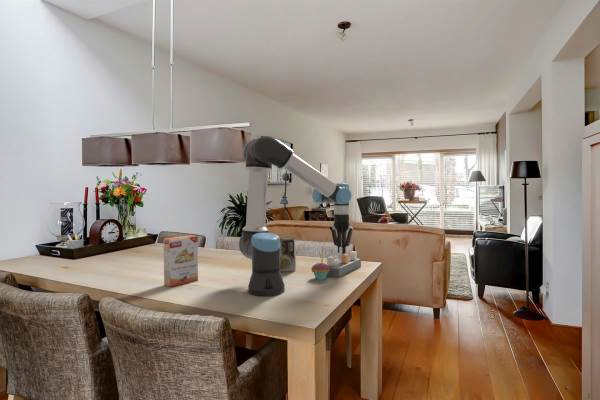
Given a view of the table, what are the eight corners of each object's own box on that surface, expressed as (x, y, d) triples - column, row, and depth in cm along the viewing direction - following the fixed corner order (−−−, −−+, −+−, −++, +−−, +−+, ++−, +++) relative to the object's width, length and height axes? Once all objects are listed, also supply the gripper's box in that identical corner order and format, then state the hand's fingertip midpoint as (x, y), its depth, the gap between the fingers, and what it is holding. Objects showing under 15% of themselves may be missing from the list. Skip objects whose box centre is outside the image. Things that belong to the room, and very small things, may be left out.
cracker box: (170, 287, 150) (169, 239, 149) (163, 285, 154) (162, 238, 153) (199, 280, 161) (198, 235, 160) (191, 278, 165) (190, 234, 164)
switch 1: (331, 266, 169) (331, 258, 169) (327, 265, 171) (327, 257, 170) (334, 264, 172) (334, 256, 171) (330, 264, 173) (329, 256, 173)
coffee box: (296, 268, 182) (295, 237, 182) (294, 271, 176) (294, 239, 175) (279, 268, 183) (278, 237, 183) (276, 271, 177) (276, 239, 176)
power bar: (339, 277, 164) (339, 268, 164) (322, 274, 169) (322, 266, 169) (361, 266, 186) (361, 258, 186) (345, 264, 191) (345, 256, 191)
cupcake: (317, 275, 169) (316, 250, 168) (332, 277, 164) (332, 252, 164) (308, 279, 161) (308, 253, 161) (324, 282, 157) (324, 255, 157)
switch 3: (354, 260, 182) (354, 252, 182) (350, 259, 183) (350, 252, 183) (356, 259, 185) (356, 251, 184) (352, 258, 186) (352, 251, 186)
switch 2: (346, 263, 175) (346, 255, 175) (341, 262, 176) (341, 254, 176) (348, 262, 177) (348, 254, 177) (344, 261, 179) (344, 253, 178)
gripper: (356, 213, 176) (356, 259, 177) (333, 212, 183) (333, 257, 184) (350, 214, 170) (350, 262, 171) (326, 213, 177) (327, 259, 178)
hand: (341, 259), depth 178 cm, fingers closed
